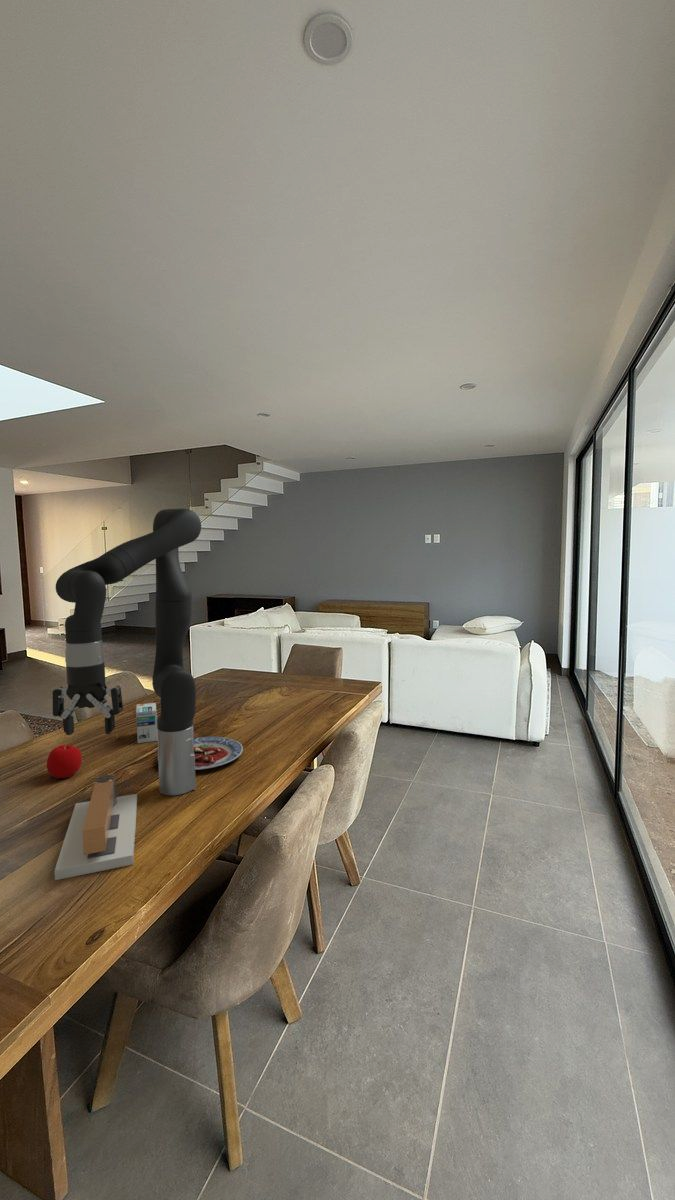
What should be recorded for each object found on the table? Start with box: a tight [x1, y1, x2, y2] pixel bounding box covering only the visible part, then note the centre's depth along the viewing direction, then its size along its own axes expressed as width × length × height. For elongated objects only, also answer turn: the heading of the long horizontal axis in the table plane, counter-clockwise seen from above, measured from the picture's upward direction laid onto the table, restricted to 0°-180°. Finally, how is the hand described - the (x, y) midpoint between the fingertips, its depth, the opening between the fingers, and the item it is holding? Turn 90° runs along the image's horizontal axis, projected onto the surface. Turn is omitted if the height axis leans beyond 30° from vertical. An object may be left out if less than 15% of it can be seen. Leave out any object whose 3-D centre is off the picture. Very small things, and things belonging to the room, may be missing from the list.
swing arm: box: [83, 773, 116, 855], centre depth 110 cm, size 4×26×5 cm, turn 21°
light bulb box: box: [135, 702, 158, 744], centre depth 171 cm, size 11×7×11 cm, turn 22°
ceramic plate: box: [194, 736, 244, 771], centre depth 154 cm, size 26×26×3 cm
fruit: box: [46, 740, 83, 779], centre depth 141 cm, size 9×9×10 cm
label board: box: [54, 793, 138, 881], centre depth 111 cm, size 14×28×3 cm, turn 21°
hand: (89, 733), depth 109 cm, fingers open, 8 cm apart
